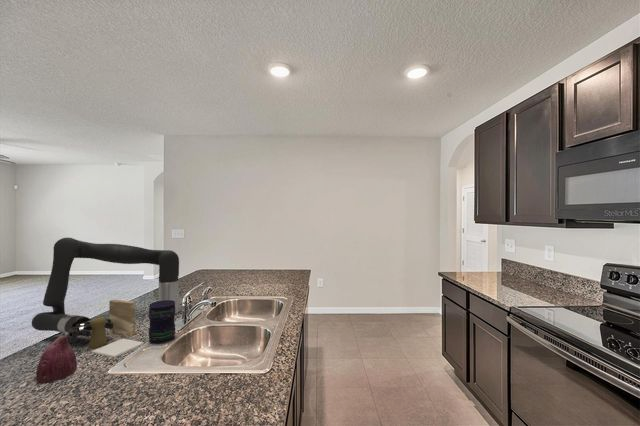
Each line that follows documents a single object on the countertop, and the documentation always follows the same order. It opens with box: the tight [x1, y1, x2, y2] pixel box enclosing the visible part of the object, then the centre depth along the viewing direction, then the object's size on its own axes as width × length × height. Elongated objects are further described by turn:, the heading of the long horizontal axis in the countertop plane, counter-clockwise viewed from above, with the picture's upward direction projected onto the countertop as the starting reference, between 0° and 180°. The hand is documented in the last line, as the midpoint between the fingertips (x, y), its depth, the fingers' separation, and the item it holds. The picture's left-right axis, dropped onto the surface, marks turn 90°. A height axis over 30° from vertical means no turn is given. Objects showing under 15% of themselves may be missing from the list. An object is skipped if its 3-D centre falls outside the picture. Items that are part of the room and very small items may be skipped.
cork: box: [88, 316, 109, 350], centre depth 116 cm, size 6×6×11 cm
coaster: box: [91, 338, 145, 358], centre depth 114 cm, size 12×12×1 cm
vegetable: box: [35, 333, 78, 384], centre depth 96 cm, size 10×10×15 cm
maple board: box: [106, 299, 138, 338], centre depth 129 cm, size 4×13×14 cm, turn 71°
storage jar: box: [148, 300, 176, 345], centre depth 123 cm, size 10×10×15 cm
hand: (101, 329), depth 116 cm, fingers open, 8 cm apart
